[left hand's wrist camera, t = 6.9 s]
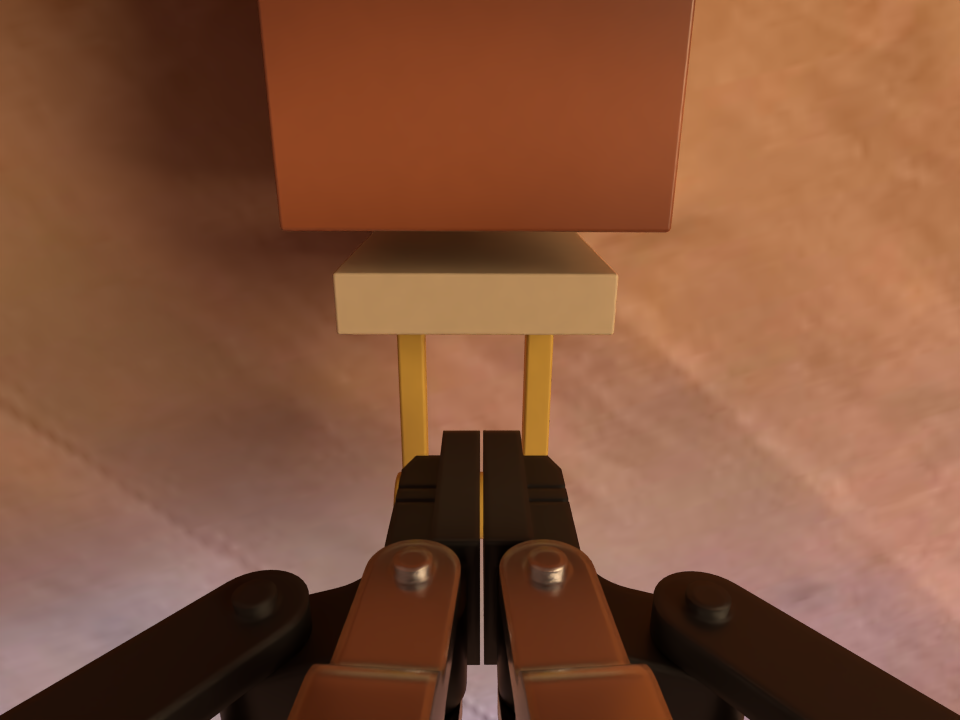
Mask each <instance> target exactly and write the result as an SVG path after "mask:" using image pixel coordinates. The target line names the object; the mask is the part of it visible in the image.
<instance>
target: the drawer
mask: <svg viewBox="0 0 960 720" xmlns="http://www.w3.org/2000/svg"><path fill="white" fill-rule="evenodd" d="M617 286H618V274H617V273H616V272H615V271H614V270H613V269H612V268H611V267H610V266H609V265H608V264H607V263H606V262H605V261H604V260H603V259H602V258H601V257H600V256H599V255H598V254H597V253H596V252H595V251H594V250H593V249H592V248H591V247H590V246H589V245H588V244H587V243H586V242H585V241H584V240H583V239H582V238H581V237H580V236H579V234H578V233H577V232H468V231H374V232H373V233H372V234H371V235H370V236H369V237H368V238H367V239H366V240H365V241H364V242H363V243H362V244H361V245H360V246H359V247H358V248H357V249H356V250H355V252H354V253H353V254H352V255H351V256H350V257H349V258H348V259H347V260H346V261H345V262H344V263H343V264H342V265H341V266H340V267H339V268H338V269H337V270H336V271H335V272H334V273H333V288H334V301H335V314H336V327H337V333H338V334H394V335H397V346H398V370H399V394H400V418H401V442H402V466H403V468H404V467H405V466H406V465H407V464H408V463H409V462H410V461H411V460H412V459H413V458H414V457H415V456H416V455H429V453H428V414H427V375H426V336H425V335H525V349H524V381H523V413H522V450H523V455H547V456H548V438H549V417H550V396H551V375H552V354H553V335H612V334H613V333H614V323H615V311H616V299H617ZM400 476H401V472H399V473H398V475H397V477H396V482H395V490H394V503H395V498H396V494H397V489H398V485H399V481H400ZM480 539H483V472H480Z"/></svg>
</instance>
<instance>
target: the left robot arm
mask: <svg viewBox="0 0 960 720" xmlns="http://www.w3.org/2000/svg"><path fill="white" fill-rule="evenodd" d="M483 581H484V665H497V676H498V706H497V707H498V720H744V716H746V717H747V718H748V719H750V720H960V715H958V714H956V713H955V712H953V711H951V710H950V709H948V708H946V707H944V706H943V705H941V704H939V703H938V702H936V701H934V700H933V699H931V698H929V697H927V696H926V695H924V694H922V693H921V692H919V691H917V690H916V689H914V688H912V687H910V686H909V685H907V684H905V683H904V682H902V681H900V680H898V679H897V678H895V677H893V676H892V675H890V674H888V673H887V672H885V671H883V670H881V669H880V668H878V667H876V666H875V665H873V664H871V663H870V662H868V661H866V660H864V659H863V658H861V657H859V656H858V655H856V654H854V653H852V652H851V651H849V650H847V649H846V648H844V647H842V646H841V645H839V644H837V643H835V642H834V641H832V640H830V639H829V638H827V637H825V636H823V635H822V634H820V633H818V632H817V631H815V630H813V629H812V628H810V627H808V626H806V625H805V624H803V623H801V622H800V621H798V620H796V619H795V618H793V617H791V616H789V615H788V614H786V613H784V612H783V611H781V610H779V609H777V608H776V607H774V606H772V605H771V604H769V603H767V602H766V601H764V600H762V599H760V598H759V597H757V596H755V595H754V594H752V593H750V592H748V591H747V590H745V589H743V588H742V587H740V586H738V585H737V584H735V583H733V582H731V581H729V580H727V579H725V578H722V577H719V576H716V575H713V574H709V573H704V572H695V571H687V572H679V573H674V574H671V575H669V576H667V577H665V578H663V579H662V580H661V581H660V582H659V583H658V584H657V586H656V588H655V590H654V594H652V593H647V592H643V591H639V590H634V589H630V588H626V587H623V586H620V585H617V584H614V583H612V582H610V581H608V580H606V579H604V578H602V577H601V576H599V575H598V574H597V573H596V570H595V568H594V565H593V563H592V561H591V560H590V559H589V557H588V556H587V555H586V554H585V553H583V552H582V551H581V550H580V547H579V542H578V538H577V534H576V530H575V525H574V521H573V517H572V513H571V508H570V504H569V502H568V496H567V491H566V488H565V483H564V479H563V474H562V470H561V468H560V467H559V466H558V465H557V464H556V463H554V462H553V461H552V460H551V459H550V458H549V457H548V456H547V455H523V450H522V443H521V435H520V431H483ZM467 665H480V431H443V437H442V446H441V454H440V455H416V456H415V457H414V458H413V459H412V460H411V461H410V462H409V463H408V464H407V465H406V466H405V467H404V468H403V469H402V472H401V476H400V481H399V485H398V489H397V494H396V498H395V503H394V507H393V512H392V516H391V520H390V525H389V529H388V534H387V538H386V543H385V547H384V548H382V549H381V550H379V551H378V552H377V553H375V554H374V555H373V556H372V557H371V559H370V560H369V561H368V563H367V565H366V568H365V570H364V573H363V576H362V578H361V579H359V580H357V581H355V582H353V583H351V584H348V585H346V586H342V587H339V588H335V589H331V590H327V591H323V592H318V593H314V594H310V595H309V591H308V588H307V585H306V584H305V583H304V581H303V580H302V579H301V578H299V577H298V576H296V575H294V574H292V573H289V572H286V571H280V570H263V571H256V572H252V573H248V574H245V575H242V576H239V577H237V578H235V579H233V580H231V581H229V582H227V583H225V584H223V585H222V586H220V587H218V588H217V589H215V590H213V591H212V592H210V593H208V594H206V595H205V596H203V597H201V598H200V599H198V600H196V601H194V602H193V603H191V604H189V605H188V606H186V607H184V608H183V609H181V610H179V611H177V612H176V613H174V614H172V615H171V616H169V617H167V618H166V619H164V620H162V621H160V622H159V623H157V624H155V625H154V626H152V627H150V628H148V629H147V630H145V631H143V632H142V633H140V634H138V635H137V636H135V637H133V638H131V639H130V640H128V641H126V642H125V643H123V644H121V645H119V646H118V647H116V648H114V649H113V650H111V651H109V652H108V653H106V654H104V655H102V656H101V657H99V658H97V659H96V660H94V661H92V662H91V663H89V664H87V665H85V666H84V667H82V668H80V669H79V670H77V671H75V672H73V673H72V674H70V675H68V676H67V677H65V678H63V679H62V680H60V681H58V682H56V683H55V684H53V685H51V686H50V687H48V688H46V689H45V690H43V691H41V692H39V693H38V694H36V695H34V696H33V697H31V698H29V699H27V700H26V701H24V702H22V703H21V704H19V705H17V706H16V707H14V708H12V709H10V710H9V711H7V712H5V713H4V714H2V715H0V720H210V719H212V718H213V717H214V716H216V715H217V714H218V713H220V716H221V720H462V707H463V706H462V698H463V696H464V694H465V691H466V685H467Z"/></svg>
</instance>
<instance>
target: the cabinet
mask: <svg viewBox="0 0 960 720" xmlns="http://www.w3.org/2000/svg"><path fill="white" fill-rule="evenodd" d="M257 5H258V15H259V24H260V34H261V44H262V54H263V64H264V73H265V83H266V93H267V103H268V113H269V122H270V132H271V142H272V152H273V161H274V171H275V181H276V191H277V201H278V210H279V220H280V227H281V229H282V230H284V231H468V232H668V231H670V229H671V222H672V213H673V203H674V194H675V185H676V176H677V166H678V157H679V148H680V139H681V129H682V120H683V111H684V102H685V92H686V83H687V74H688V65H689V55H690V46H691V37H692V28H693V18H694V9H695V0H257Z"/></svg>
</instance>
